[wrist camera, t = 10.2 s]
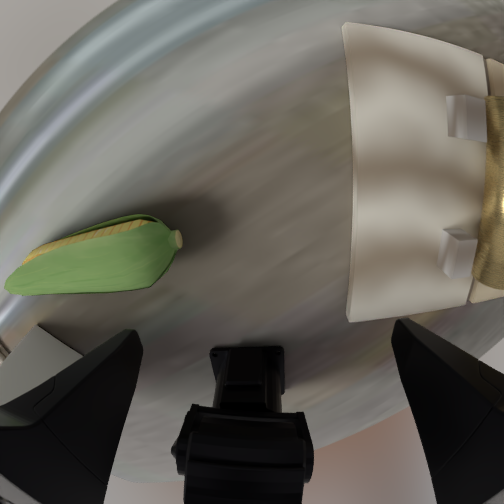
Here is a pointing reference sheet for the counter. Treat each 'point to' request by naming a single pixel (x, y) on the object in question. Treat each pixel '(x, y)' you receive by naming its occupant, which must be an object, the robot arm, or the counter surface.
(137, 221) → the edible corn
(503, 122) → the hinge pin
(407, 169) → the hinge leaves
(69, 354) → the milk carton
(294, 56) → the counter surface
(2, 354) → the washcloth
